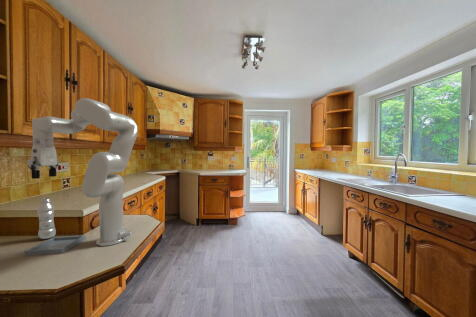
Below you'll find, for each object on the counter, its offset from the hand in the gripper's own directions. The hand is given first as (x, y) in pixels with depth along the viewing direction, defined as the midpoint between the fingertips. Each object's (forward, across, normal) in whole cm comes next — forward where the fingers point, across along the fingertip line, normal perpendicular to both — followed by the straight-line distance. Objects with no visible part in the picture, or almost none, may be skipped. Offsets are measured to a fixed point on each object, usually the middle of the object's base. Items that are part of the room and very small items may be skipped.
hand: (44, 177), depth 102 cm
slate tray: (+31, -12, -14) cm, 36 cm away
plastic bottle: (+31, 0, 0) cm, 31 cm away
